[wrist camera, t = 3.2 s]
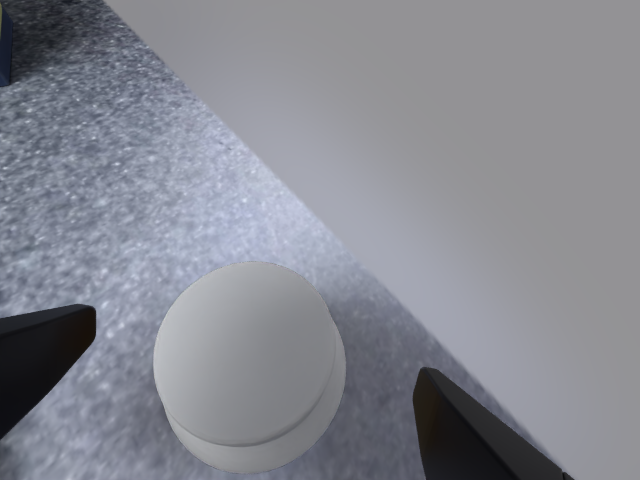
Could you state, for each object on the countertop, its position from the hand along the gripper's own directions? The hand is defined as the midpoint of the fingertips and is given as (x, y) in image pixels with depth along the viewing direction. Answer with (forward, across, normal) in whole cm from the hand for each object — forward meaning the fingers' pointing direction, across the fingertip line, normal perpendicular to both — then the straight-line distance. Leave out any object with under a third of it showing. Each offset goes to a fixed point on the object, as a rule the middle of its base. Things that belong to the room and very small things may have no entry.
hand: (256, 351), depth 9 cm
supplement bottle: (+6, 0, +6) cm, 8 cm away
